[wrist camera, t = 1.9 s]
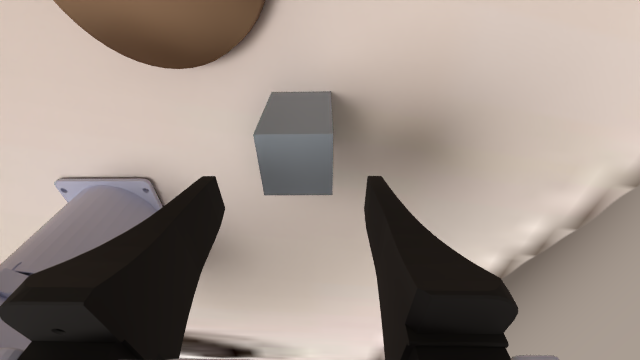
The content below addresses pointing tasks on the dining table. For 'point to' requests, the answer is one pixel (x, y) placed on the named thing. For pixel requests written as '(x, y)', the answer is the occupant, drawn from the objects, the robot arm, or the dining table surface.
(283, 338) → the dining table surface
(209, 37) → the disc
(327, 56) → the dining table surface
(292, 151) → the block
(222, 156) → the dining table surface
